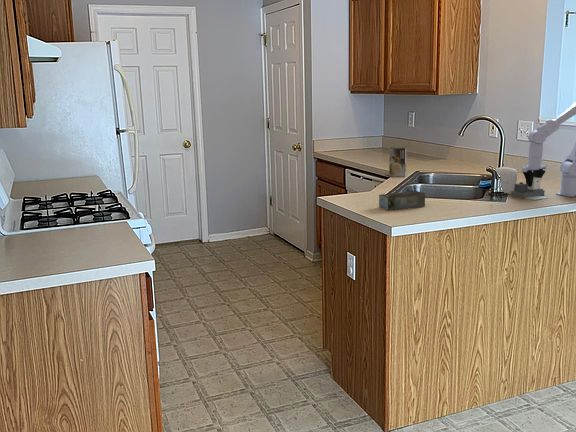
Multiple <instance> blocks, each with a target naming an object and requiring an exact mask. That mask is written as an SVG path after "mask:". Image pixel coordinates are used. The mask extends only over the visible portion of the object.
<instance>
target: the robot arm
mask: <svg viewBox="0 0 576 432" xmlns="http://www.w3.org/2000/svg"><path fill="white" fill-rule="evenodd" d="M575 116H576V102H574V103H573V104H572V105H571V106H569V108H567V109H566V110H565V111H563V112H561V113H560V114H559V115H558V116H557V117H556V118H555V119H553V118H551V119H546V120H545V122H544V123H543V124H542V125H541V126H538V127H537V128H536V129H534V130H532V131H530V133H529V135H528V136H527V139H528V141H529V148H528V157H527V159H528V160H527V165H526V166H523V167H521V172H522V174H523V176H524V178H525V184H528V186H529V187H532V183H533V178H534V177H537V178H541V179H542V178H543V176H544V175H545V174H546V170H547V169H548V166H547V164H542V163H543V160H542V159H543V150H544V143H545V142H546V141H547V138H548V137H550V136H551V135H553V134H554V133H555V132H557V131H558V130H559V129H560V127H561V126H560V125H562V124H563V123H565V122H566V121H568V120H569V119H571V118H573V117H575ZM559 169H560V171H561V178H560V179H561V180H560V190H559V192H556V193H555V195H560V196H565V197H576V142H575V143H574V146H573V148H572V149H571V152H570V153H569V154H568V155H567V156H566V157H565V159H564V161H562V162H561V163H560V166H559Z"/></svg>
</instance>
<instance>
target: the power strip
mask: <svg viewBox="0 0 576 432" xmlns="http://www.w3.org/2000/svg"><path fill="white" fill-rule="evenodd" d="M545 191H546V190H545V189H544V188H541V187H540V189H535V190H533V189H528V184H526V183H524V182H522V181H520V182H518V183H516V184H515V187H514V191H511V194H510V197H515V198H518V199H523V200H525V198H526V197H532V196H544V197H545Z"/></svg>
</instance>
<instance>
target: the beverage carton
mask: <svg viewBox="0 0 576 432" xmlns="http://www.w3.org/2000/svg"><path fill="white" fill-rule="evenodd" d="M425 206H426V193H425V192H422V191H418V190H409V191H402V192H393V193H392V192H391V193H384V194H379V195H378V208H379V209H382V210H384V209H385V210H384V211H388V212H390V211H389V210H391V211H399V209H400V210H405V209H406V210H409V209H414V208H415V209H416V208H423V207H425ZM408 208H409V209H408Z"/></svg>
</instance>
